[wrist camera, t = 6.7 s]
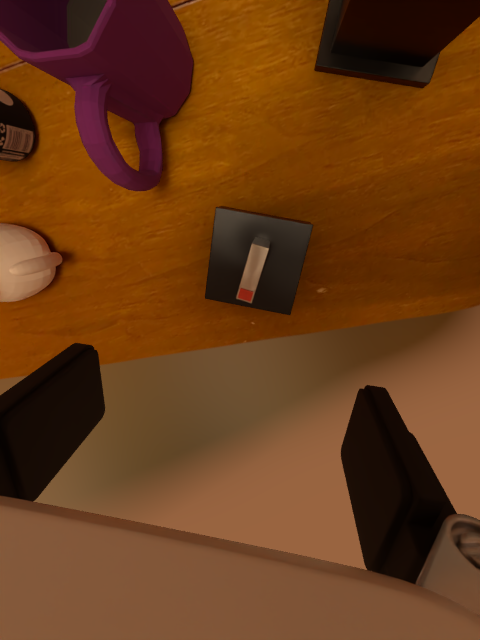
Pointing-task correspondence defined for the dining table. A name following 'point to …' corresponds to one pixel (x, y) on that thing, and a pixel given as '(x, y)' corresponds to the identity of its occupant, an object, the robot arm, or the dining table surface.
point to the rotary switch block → (280, 264)
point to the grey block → (253, 269)
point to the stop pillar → (391, 37)
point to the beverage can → (14, 128)
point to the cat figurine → (24, 263)
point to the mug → (108, 70)
